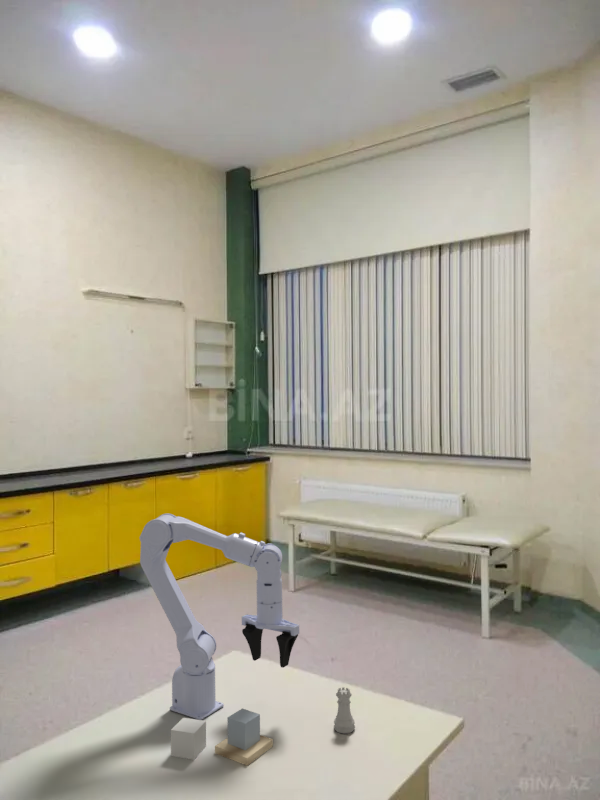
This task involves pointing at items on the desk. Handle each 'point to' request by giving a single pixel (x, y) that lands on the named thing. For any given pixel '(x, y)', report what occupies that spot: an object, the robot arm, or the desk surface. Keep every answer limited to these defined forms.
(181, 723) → the grey cube
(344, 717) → the rook chess piece
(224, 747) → the maple block
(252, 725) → the slate block
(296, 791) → the desk surface
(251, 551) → the robot arm
